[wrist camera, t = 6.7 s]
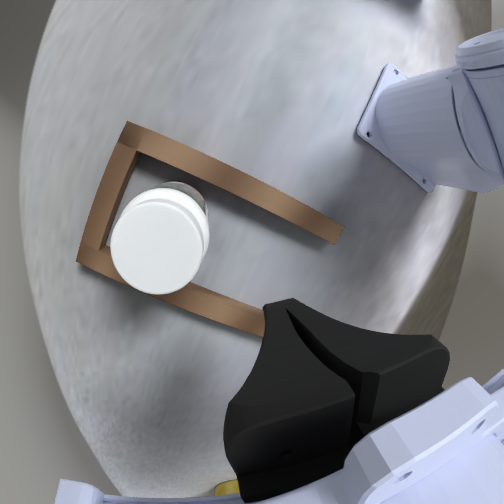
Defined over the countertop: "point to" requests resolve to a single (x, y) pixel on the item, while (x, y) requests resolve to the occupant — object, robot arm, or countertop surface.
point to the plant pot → (227, 488)
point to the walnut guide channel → (211, 171)
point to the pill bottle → (161, 238)
